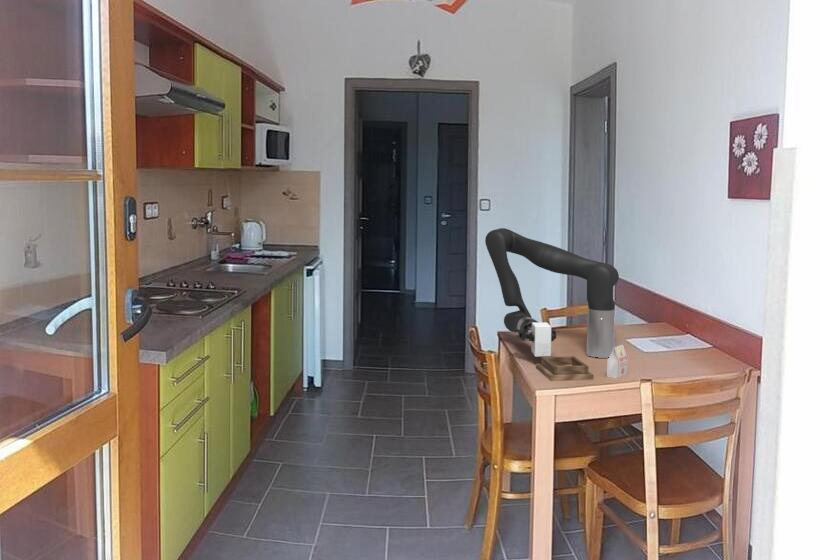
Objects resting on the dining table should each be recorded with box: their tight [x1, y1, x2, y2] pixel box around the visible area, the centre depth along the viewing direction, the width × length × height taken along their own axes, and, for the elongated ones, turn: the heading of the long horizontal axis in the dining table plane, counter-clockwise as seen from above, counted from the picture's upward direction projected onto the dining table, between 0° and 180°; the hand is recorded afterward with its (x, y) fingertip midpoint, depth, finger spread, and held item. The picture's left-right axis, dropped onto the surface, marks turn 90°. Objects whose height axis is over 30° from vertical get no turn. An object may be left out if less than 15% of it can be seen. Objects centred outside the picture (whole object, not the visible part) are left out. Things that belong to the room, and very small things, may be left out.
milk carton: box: [606, 344, 628, 379], centre depth 235 cm, size 4×7×10 cm, turn 139°
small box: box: [531, 321, 552, 358], centre depth 251 cm, size 8×6×10 cm
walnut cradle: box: [535, 355, 595, 382], centre depth 238 cm, size 14×16×4 cm
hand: (543, 338), depth 248 cm, fingers closed on small box, 6 cm apart
